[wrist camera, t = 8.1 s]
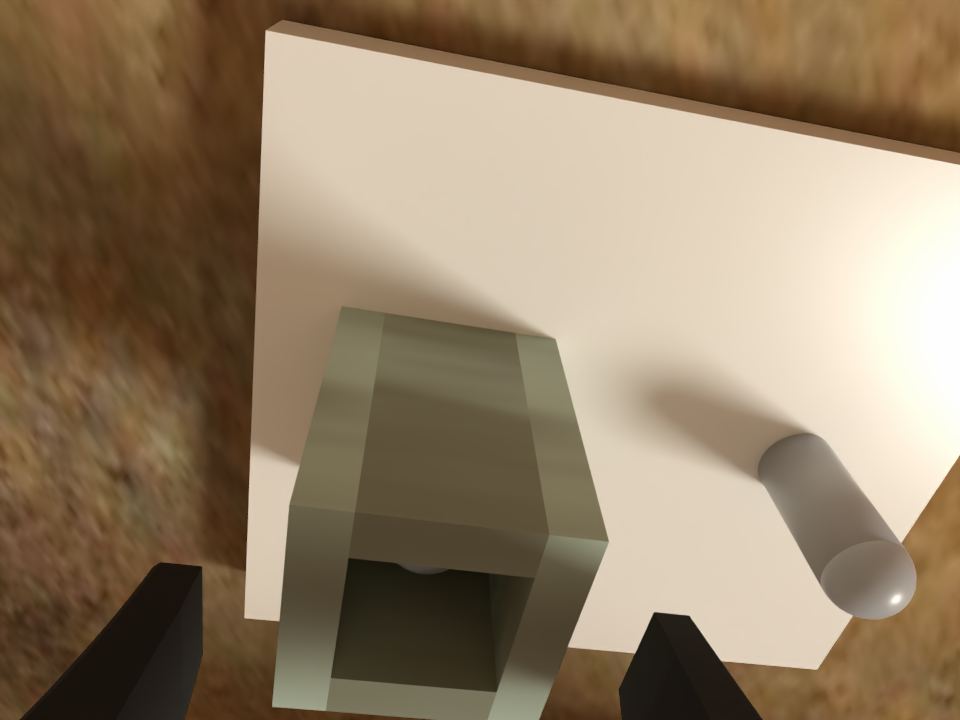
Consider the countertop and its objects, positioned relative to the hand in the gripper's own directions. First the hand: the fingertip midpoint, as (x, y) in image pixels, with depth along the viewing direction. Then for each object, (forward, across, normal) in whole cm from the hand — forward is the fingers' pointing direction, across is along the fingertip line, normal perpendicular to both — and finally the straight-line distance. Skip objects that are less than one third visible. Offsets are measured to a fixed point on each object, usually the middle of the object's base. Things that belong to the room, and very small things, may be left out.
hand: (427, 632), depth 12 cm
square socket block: (+6, 0, 0) cm, 6 cm away
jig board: (+7, -4, 0) cm, 9 cm away
